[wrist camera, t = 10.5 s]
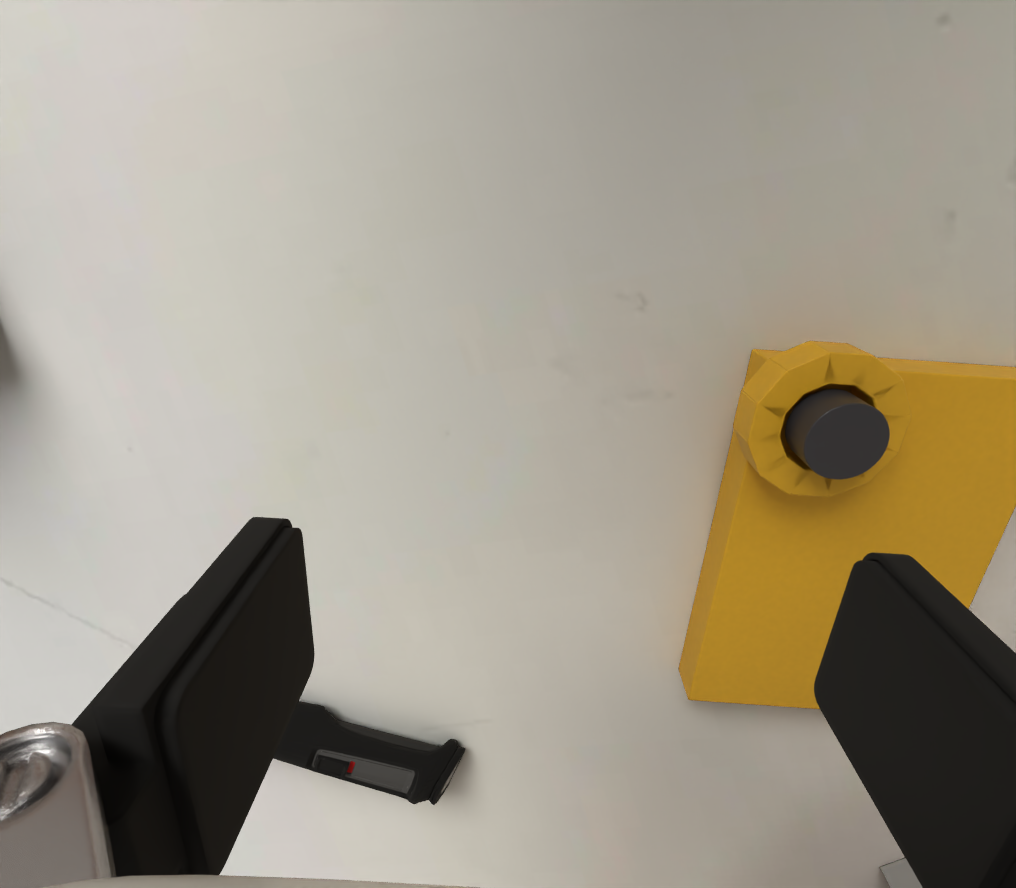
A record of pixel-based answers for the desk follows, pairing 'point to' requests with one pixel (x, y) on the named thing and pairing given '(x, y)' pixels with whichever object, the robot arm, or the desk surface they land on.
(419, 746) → the electric trimmer
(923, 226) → the desk surface
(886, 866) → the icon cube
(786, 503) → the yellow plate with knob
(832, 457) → the black cylindrical knob
